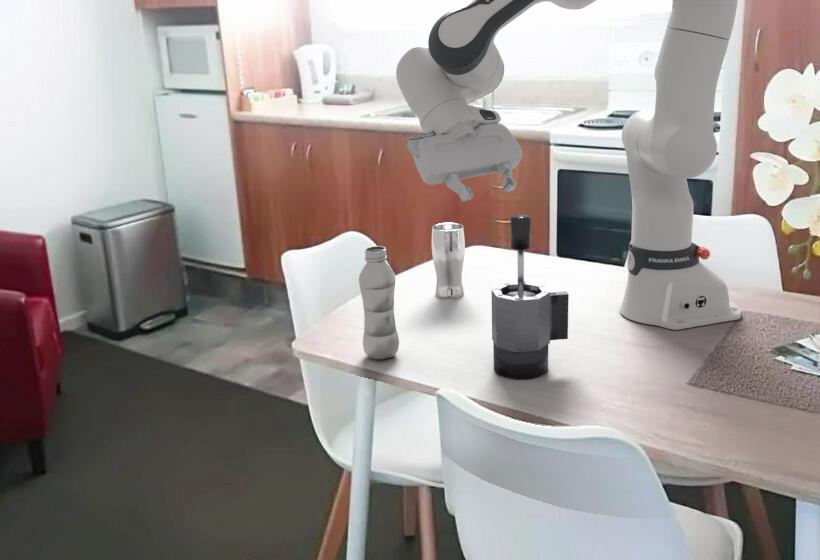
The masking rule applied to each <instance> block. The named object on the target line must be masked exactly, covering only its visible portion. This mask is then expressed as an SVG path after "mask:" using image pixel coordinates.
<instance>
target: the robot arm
mask: <svg viewBox="0 0 820 560" xmlns="http://www.w3.org/2000/svg"><path fill="white" fill-rule="evenodd" d="M596 1H597V0H472V1H470V2H468V3H466V4H464V5H461V6H458V7H456V8H454V9H451V10H449V11H448V12H446V13H444V14H443V15H442V16H440V17H439V18H438V19H437V21H436V22H435V23H434V24H433V26H432V27H431V30H430V32H429V35H428V41H427V42H428V46H427V45H420V44H419V45H416V46H413V47H412V48H410V49H409V50H408V51H406V52H405V53H404V54H403V55H402V57H401V58H400V60H398V63H397V66H396V70H395V71H396V72H395V77H396V81H397V85H398V87H399V89H400V91H401V94H402V96H403V97H404V100H405V102H406V104H407V105H408V107H409V109H410V111H411V112H412V113H413V114H414V115H416V116H417V118H418V121H419V125H420V127H421V129H422V131H423V133H420V134H418V133H415V134H412V135H410V138H408V140H407V142H406V146H407V148H408V150H409V151H410V153H411V155H412V157H413V158H412V159H413V160H414V164H415V167H416V169H417V172H418V173H419V175H420V178H421V179H422V181H423V182H424V183H425V184H426V185H428V186H434V185H439V184H443V183H444V184H445V185H446V187H447V188H449V190H451V191H453V192H455V194H457V195H458V196H459V198H460V200H461V201H462V202H467V201H471V200H472V198H473V197H474V196H475V194H474V191H473V190H472V188H471V186H470V185H468V186H466V185H465V184H464V183H463V182H461V181H460V180H464V179H470V178H475V177H479V176H485V175H489V174H490V175H491V174H494V173H498V174H499V175H500V176H501V177H503V182H502V183H501V184H500V185H501V187H502V188H503V190H504V192H507V193H508V192H512V191H514V190H516V187H517V183H516V180H515V179H514V177H513V175H514V174H513V172H514V171H513V170H514V169H515V168H516V167H518V165H519V163H520V162H521V160H522V159H523V155H524V154H523V150H522V148H521V146H520V144H519V143H518V141H517V139H516V138H515V137H514V135H513V134H512V132H511V131H510V129H508V128H507V126H505V125H504V124H503V123H500V121H501V120H502V118H501V115H500V114H499V112H498V111H496V110H491V109H485V108H480V107H478V106H477V107H476V106H474V105H470V104H471V103H473V102H475V101H477V100H479V99H481V98H483V97H485V96H487V95H489V94H491V93H493V91H495V90H496V88H498V87H499V85H500V84H501V82H502V80H503V78H504V74H505V65H504V61H503V58H502V56H501V54H500V51H499V49H498V48H497V45H496V44H495V42H494V41H495V38H496V36H497V34H498V33H499V31H501V30H502V29H503V28H505V27H506V26H507V25H509V24H510V23H511V22H512V21H514V20H516V19H517V18H518V17H520V16H521V15H522V14H524V13H525V12H526V11H528V10H529V9H530V8H532V7H533V6H535V5H537V4H539V3H543V2H548V3H549V2H550V3H552V4H554V5H556V6H557V7H559V8H562V9H566V10H583V9H584V8H586V7H588V6H590V5H591V4H593V3H595V2H596ZM737 8H738V0H672V6H671V9H672V10H671V11H670V12H671V13H670V16H669V17H668V20H667V21H668V22H667V24H666V29H665V32H664V34H663V35H664V36H663V39H662V41H661V46H660V50H659V53H658V56H657V61H656V62H655V63H656V64H655V68H654V79H655V83H656V84H655V88H656V89H655V93H656V94H655V106H654V107H650V108H645V109H642V110H638V111H636V112H634V113H633V114H632V115H630V116H629V117H627V120H626V121H625V123H624V124H623V127H622V130H621V140H622V144H623V145H622V146H623V147H624V150H625V155H626V161H627V162H626V163H627V169H628V170H627V171H628V178H629V183H630V184H629V186H630V192H631V201H632V202H631V204H632V209H631V211H632V212H631V240H630V241H628V252H627V270H628V274H627V275H628V276H627V282H626V287H625V292H624V296H623V299H622V302H621V304H620V308H619V312H620V314H621V315H622V316H623V317H625V318H626V319H627V320H630V321H633V322H637V323H640V324H645V325H652V326H659V327H662V328H664V329H669V330H672V331H673V330H674V331H676V330H677V331H678V330H684V329H689V328H695V327H696V328H697V327H701V326H706V325H712V324H717V323H724V322H730V321H736V320H740V319H741V317H742V314H741V309H740V307H739V306H738V305H737V304H736V303H735V302H733V301H732V300H730V295H729V294H730V293H729V290H728V286H727V283H726V282H725V280H723V278H722V277H720V276H719V275H718V274H717V273H715V272H714V271H712V269H710V268H709V267H708V266H706V265H705V264H704V263H702V262H701V261H700V258H701V260H708V259H709V257H711V251H710V250H709V249H708V248H706V247H704V246H700V245H698V244H696V243H694V242H692V239H693V238H692V237H693V227H694V226H693V223H694V208H695V205H694V200H693V198H692V196H691V193H690V189H689V185H688V180H687V179H693V178H697V177H698V176H701V175H703V174H704V173H705V172H707V171H708V170H709V169H710V168H711V166H712V165H713V163H714V161H715V159H716V156H717V152H718V146H717V145H718V144H717V140H716V136H715V133H714V117H715V102H716V91H717V87H718V86H717V85H718V83H719V78H720V77H719V76H720V73H721V71H722V67H723V63H724V60H725V56H726V53H727V50H728V47H729V43H730V39H731V36H732V32H733V28H734V25H735V24H734V23H735V19H736V14H737Z"/></svg>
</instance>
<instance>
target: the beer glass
mask: <svg viewBox="0 0 820 560" xmlns="http://www.w3.org/2000/svg"><path fill="white" fill-rule="evenodd" d="M465 240H466V239H465V232H464V225H463V224H461V223H458V222H457V223H456V222H442V223H441V222H440V223H438V224H434V225H433V226H431V254H432V260H433V265H434V270H435V274H436V287H435V296H436V297H437V298H439V299H441V300H442V299H443V300H454V299H460V298H462V297H463V296H464V294H465V291H464V287H463V280H462V277H463V275H462V274H463V269H464V261H465V254H466V253H465V252H466V242H465Z"/></svg>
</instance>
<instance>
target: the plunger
mask: <svg viewBox="0 0 820 560" xmlns="http://www.w3.org/2000/svg"><path fill="white" fill-rule="evenodd" d="M531 219H532V216H530V215H527V214H515V215H511V216H510V248H511V249H512V250H517V282H518V291H513V292H509V293H507V294H506V296H511V297H515V298H522V297H534V296H536V295H535V294H534V293H532V292H528V291H524V281H525V269H524V268H525V262H524V261H525V254H524V253H525V250H529V249H531V248H532V247H531V245H532V242H531V241H532V240H531V239H532V237H531V235H532V233H531V231H532V225H531V223H532V221H531Z"/></svg>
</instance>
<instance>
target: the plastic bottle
mask: <svg viewBox="0 0 820 560" xmlns="http://www.w3.org/2000/svg"><path fill="white" fill-rule="evenodd" d="M364 254H365V256H364V261H365V262H366V263H365V265H364V266H363V268H362V269H361V271H360V273H359V277H358V285H359V290H360V294H361V298H362V306H363V307H362V308H363V315H364V319H363V322H364V323H363V324H364V325H363V327H364V329H363V331H364V332H363V336H362V347H363V350H364V351H363V352H364V353H365V355H366V356H367V357H368V358H370V359H373V360H386V359H390V358H393V357H394V356H396V354H397V353H398V351H399V346H400V339H399V334H398V331H397V327H396V320H395V319H396V318H395V308H394V307H395V289H396V275H395V273H394V270H393V269H392V268H391V266H390V265H389V263H387V259H388V256H387V248H386V247H385V246H381V245H376V246H368V247H367V248H365V249H364Z"/></svg>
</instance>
